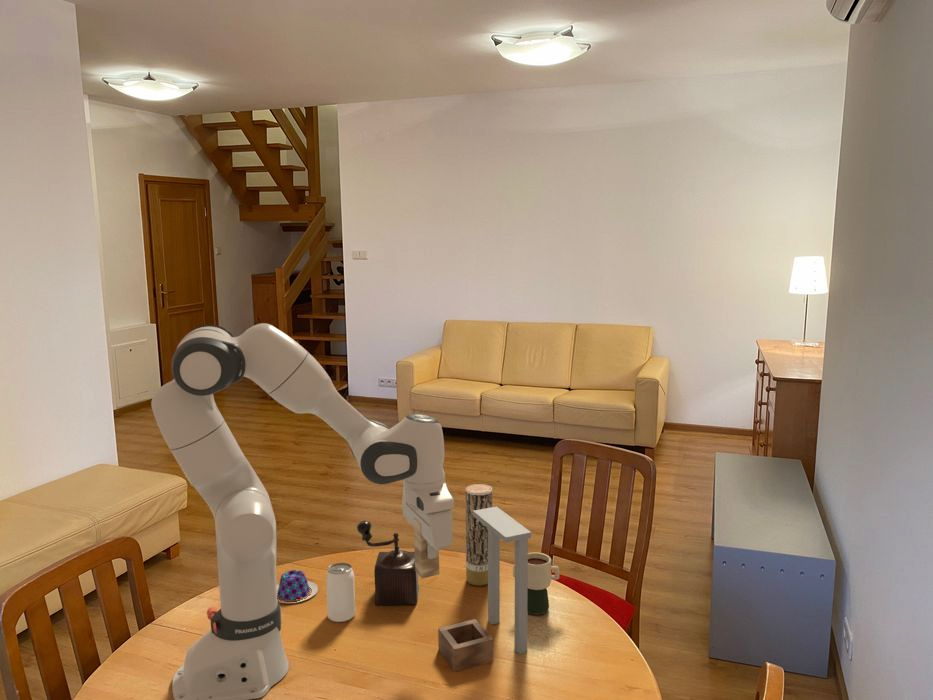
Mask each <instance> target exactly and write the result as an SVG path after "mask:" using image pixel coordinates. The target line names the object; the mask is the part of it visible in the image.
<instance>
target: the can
mask: <svg viewBox="0 0 933 700" xmlns="http://www.w3.org/2000/svg"><path fill="white" fill-rule="evenodd" d="M352 568H353V567H352V565H351V564H350V563H348V562H336V563H333V564H331V565H329V566H328V567H327V572H326V575H325V583H326V585H325V586H326V607H327V608H326V613H327V618H328V619H329V621H332V622H334V623H345V622H349V621H350V620H352V619H353V618H354V617H355V615H356V599H355V597H356V593H355V573H354V570H353V569H352Z"/></svg>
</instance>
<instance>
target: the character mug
mask: <svg viewBox="0 0 933 700" xmlns="http://www.w3.org/2000/svg"><path fill="white" fill-rule="evenodd" d="M552 571H554V574H552ZM512 576H513V578H514V579H515V564H514V565H513V568H512ZM559 579H560V567H559V566H557V565H552V558H551V556H549V555H548V554H547V553H546V554H545V553H542V552H529V553H528V591H527V613H529V614H532V615H541V614H544V613H546V612H547V611H548V610H549V608H550V602H549V601H550V600H549V595H548V593H549V592H548V589H547V588H549V587H550V584H551V582H552V580H559Z"/></svg>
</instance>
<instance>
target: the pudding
mask: <svg viewBox="0 0 933 700" xmlns="http://www.w3.org/2000/svg"><path fill="white" fill-rule="evenodd" d="M309 587H310V588H311V589H312V593H311V589H310V588H309ZM277 590H278V592H277V596H278V597H277V598H278V599H279V598H283V599H284V600H290V601H294V600H295V601H297V600H296V599H300V598H301V597H303V598H301V599H303V600H301V599H300V601H297V602H282V601H284V600H283V599H282V601H279V600H278V601H279V604H296V603H300V602H304V601H306V600H309V599H311V598H312V597H314V596H315V595H316V594H317V593H318V590H319V587H318V585H317V584H316V583H315V582H312V581H309V580H308V578H307V577H306V574H305V572H303V571H302V570H298V569H293V570H287V571H285V573H282V574H281V576H280V580H279V583H277ZM310 593H311V595H310V596H308V597H307V595H309V594H310ZM306 597H307V598H306ZM304 598H306V599H304ZM291 599H292V600H291Z"/></svg>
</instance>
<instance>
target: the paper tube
mask: <svg viewBox="0 0 933 700" xmlns="http://www.w3.org/2000/svg"><path fill="white" fill-rule="evenodd" d="M491 507H493V486H490V485H488V484H484V483H483V484H482V483H479V484H478V483H476V484H469V485H468V486H466V487H465V569H466V570H465V571H466V572H465V573H466V575H465V579H466V581H467V582H468V583H469V584H470V585H473V586H477V587H480V586H481V587H482V586H486V585H488V528H487V527H486V526H485V525H483V524H482V523H481V522H480V521H479V520H477V519H476V518H475V517H474V516H473V511H474V510H480V509H486V508H491Z"/></svg>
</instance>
